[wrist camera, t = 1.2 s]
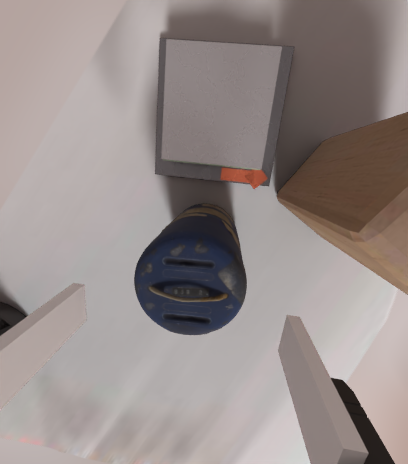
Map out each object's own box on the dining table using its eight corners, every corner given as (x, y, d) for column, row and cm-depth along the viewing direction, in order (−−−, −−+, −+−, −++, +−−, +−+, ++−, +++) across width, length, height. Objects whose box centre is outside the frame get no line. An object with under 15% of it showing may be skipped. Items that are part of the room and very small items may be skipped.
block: (325, 136, 28) (547, 54, 9) (379, 184, 29) (688, 208, 10) (272, 196, 31) (350, 236, 11) (323, 238, 31) (476, 342, 12)
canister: (185, 193, 32) (137, 218, 14) (246, 213, 32) (271, 263, 14) (168, 250, 34) (111, 329, 17) (224, 269, 34) (224, 367, 17)
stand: (157, 177, 31) (144, 178, 27) (162, 42, 27) (148, 14, 22) (266, 189, 30) (274, 193, 26) (291, 51, 26) (306, 23, 21)
